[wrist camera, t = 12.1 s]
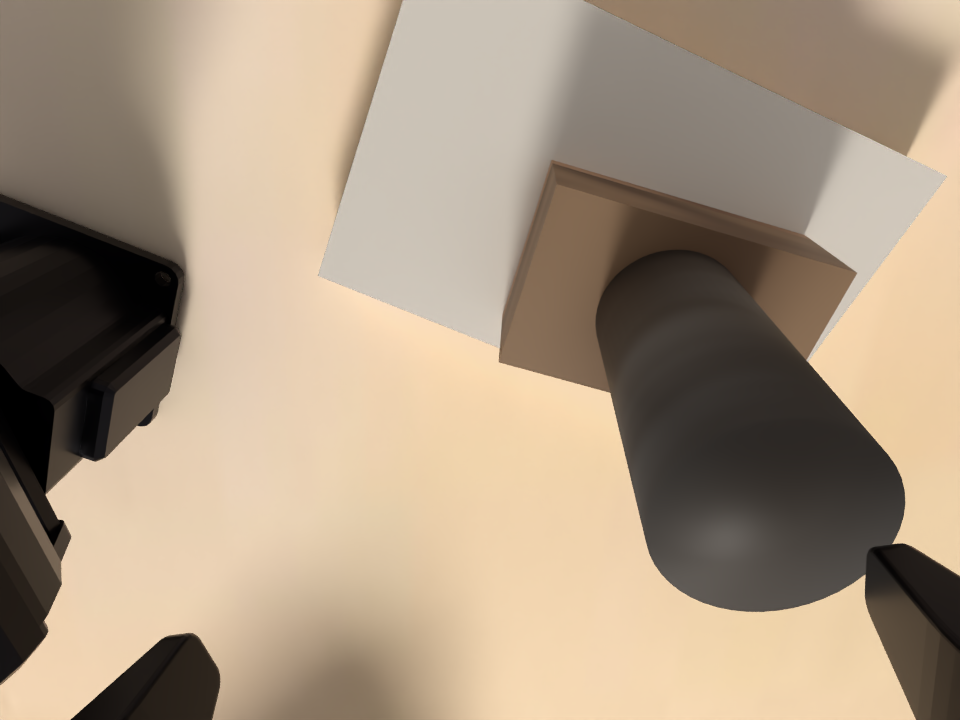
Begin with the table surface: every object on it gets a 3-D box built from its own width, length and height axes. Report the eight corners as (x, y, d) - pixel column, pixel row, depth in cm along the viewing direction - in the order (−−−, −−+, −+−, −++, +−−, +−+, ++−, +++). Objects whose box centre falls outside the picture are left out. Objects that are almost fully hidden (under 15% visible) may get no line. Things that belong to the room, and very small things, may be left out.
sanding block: (502, 314, 18) (482, 577, 10) (551, 159, 16) (583, 308, 7) (729, 377, 19) (912, 683, 10) (805, 234, 17) (1118, 460, 8)
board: (335, 253, 20) (317, 276, 18) (436, -64, 16) (426, -76, 14) (726, 412, 22) (744, 446, 20) (904, 161, 18) (947, 176, 16)
